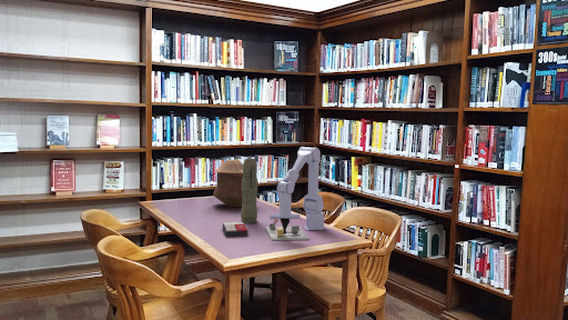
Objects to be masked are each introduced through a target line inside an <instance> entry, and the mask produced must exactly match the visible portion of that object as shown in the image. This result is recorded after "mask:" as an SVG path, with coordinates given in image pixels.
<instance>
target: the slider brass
mask: <svg viewBox="0 0 568 320" xmlns="http://www.w3.org/2000/svg"><path fill="white" fill-rule="evenodd" d="M277 236H284V230H283V228H280V229H277Z"/></svg>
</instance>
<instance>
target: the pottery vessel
mask: <svg viewBox="0 0 568 320" xmlns="http://www.w3.org/2000/svg"><path fill="white" fill-rule="evenodd" d="M214 173H216V187H215V188H214V191H213V194H212V195H213V197H214V198H216V199H217V200H218V201H220V202H222V203H223V204H225V205H226V206H227V207H230V208H241V207H242V179H243V162H241V160H239V159H226V160H225V161H224V162H223V163H222V164H221V165H220V166H219V167H217V168H216V169H215V170H214Z"/></svg>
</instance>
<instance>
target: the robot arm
mask: <svg viewBox="0 0 568 320" xmlns="http://www.w3.org/2000/svg"><path fill="white" fill-rule="evenodd" d="M306 163H307V165H308V180H307V181H308V183H307V185H308V186H307V189H308V190H307V194H306V195H304V196H303V202H302V207H303V209H304V212H305V225H303V227H304V229H305V230H306V231H324V230H325V214H324V211H323V210H324V205H325V204H324V200H323V199H324V198H323V197H322V196H321V195H320V194H319V169H320V168H319V165H320V163H321V151H320V149H319V148H318V147H309V146H307V147H305V146H300V147H299V149H298V151H297V158H296V160H295V162H294V165H292V166H293V167H292V168H291V169H290V168H289V169H288V171H287V173H286V174H285V176H284V178H283V179H282V180H280V181H279V182H278V183H277V186H276V191H277V193H278V194H277V195H278V202H279V203H278V213H276V214H269V220H271V221H272V220H275V219H278V220H280V223H281V225H282V226H283V230H284V234H286V228H287V226H288V225H289V224H290V222H291V220H294V219H295V220H300V219H301V215H300V213H299V214H296V213H292V193H293V192H294V190H295V186H296V182H297V180H298V179H299V177H300V171H301V170H302V168H303V167H304V165H305V164H306Z"/></svg>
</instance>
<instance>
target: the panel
mask: <svg viewBox="0 0 568 320" xmlns="http://www.w3.org/2000/svg"><path fill="white" fill-rule="evenodd" d="M272 225H273V223H269V226H265V231H266V232H267V234H268V237H269V238H270V240H271V241H306V240H307V241H308V240H309V236H308V234H306V232H305V230H303V229H302V228H301V226H300V225H298V224H294V225H298V232H292V231H291V225H290V226H287V228H286V234H284V236H277V229H280V228H283V226H281V225H279V226H276V225H275V226H272Z"/></svg>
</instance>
